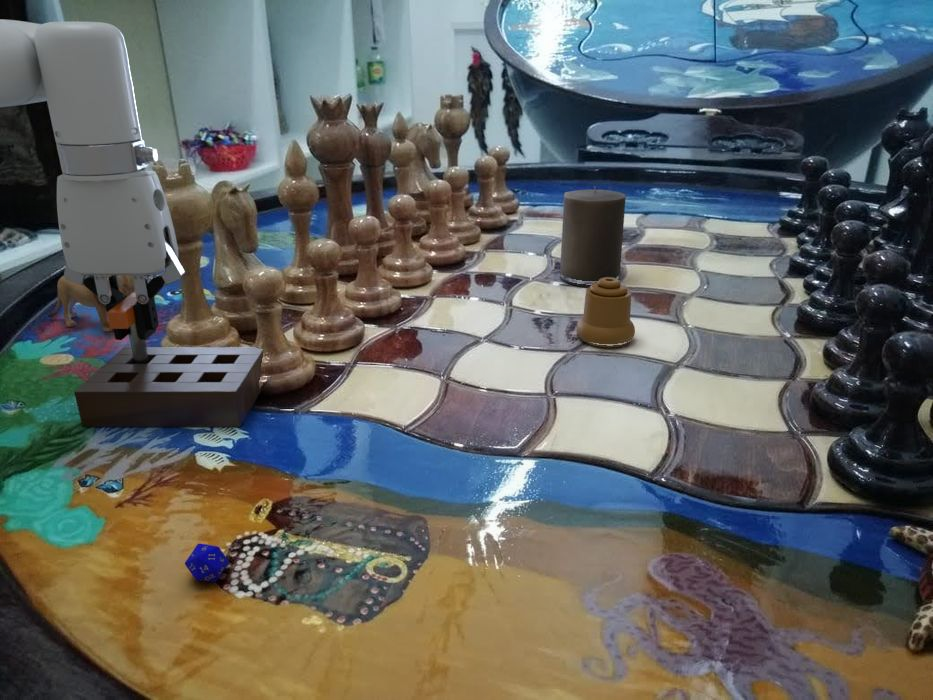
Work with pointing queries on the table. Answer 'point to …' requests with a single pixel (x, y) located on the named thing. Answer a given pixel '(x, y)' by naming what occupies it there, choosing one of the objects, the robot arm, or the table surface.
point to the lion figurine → (86, 299)
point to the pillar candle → (592, 235)
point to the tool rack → (173, 388)
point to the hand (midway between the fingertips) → (136, 334)
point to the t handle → (129, 327)
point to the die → (206, 562)
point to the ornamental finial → (606, 314)
